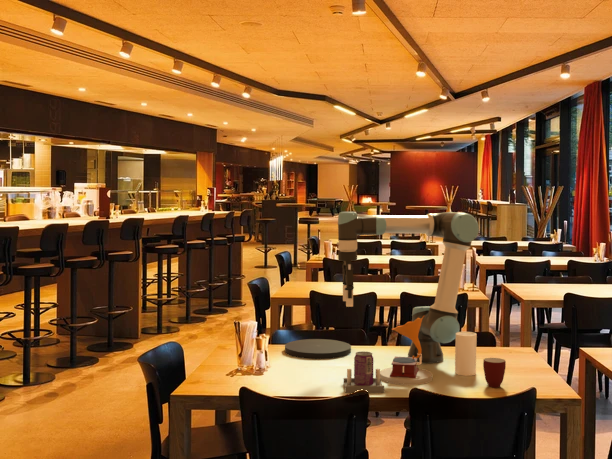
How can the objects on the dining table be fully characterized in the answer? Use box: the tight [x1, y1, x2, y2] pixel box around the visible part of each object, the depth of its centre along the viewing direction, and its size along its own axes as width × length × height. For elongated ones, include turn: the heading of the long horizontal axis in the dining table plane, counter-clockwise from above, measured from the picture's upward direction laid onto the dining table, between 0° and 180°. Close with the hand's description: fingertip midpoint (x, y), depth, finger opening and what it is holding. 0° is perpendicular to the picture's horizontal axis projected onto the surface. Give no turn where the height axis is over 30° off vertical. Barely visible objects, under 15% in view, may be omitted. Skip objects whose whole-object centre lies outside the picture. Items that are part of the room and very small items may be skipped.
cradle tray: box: [343, 368, 385, 394], centre depth 283 cm, size 14×12×7 cm
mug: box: [482, 357, 507, 389], centre depth 287 cm, size 10×8×10 cm
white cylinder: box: [454, 331, 478, 377], centre depth 306 cm, size 8×8×16 cm
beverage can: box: [353, 351, 374, 386], centre depth 283 cm, size 7×7×12 cm
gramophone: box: [380, 316, 433, 386], centre depth 298 cm, size 20×20×25 cm
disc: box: [284, 338, 352, 360], centre depth 346 cm, size 30×30×3 cm
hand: (347, 303), depth 304 cm, fingers open, 13 cm apart
